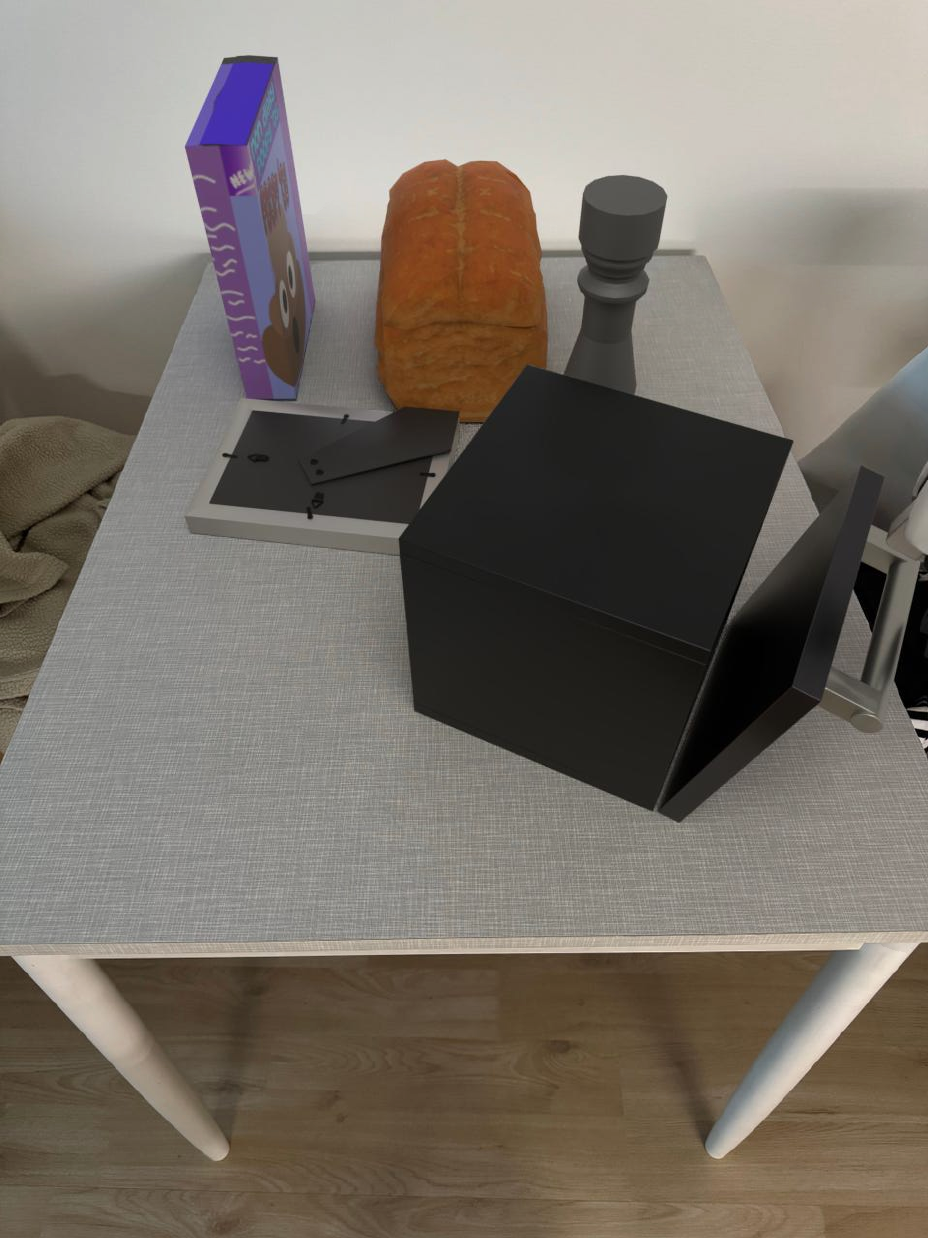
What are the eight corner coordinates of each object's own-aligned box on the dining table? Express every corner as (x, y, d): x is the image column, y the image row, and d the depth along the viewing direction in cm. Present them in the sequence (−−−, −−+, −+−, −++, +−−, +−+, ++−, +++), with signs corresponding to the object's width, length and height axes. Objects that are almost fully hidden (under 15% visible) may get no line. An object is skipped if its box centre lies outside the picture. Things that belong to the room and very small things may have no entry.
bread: (377, 426, 83) (360, 270, 70) (388, 274, 99) (376, 126, 87) (547, 424, 83) (561, 267, 70) (530, 272, 99) (538, 123, 87)
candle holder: (603, 444, 81) (646, 167, 61) (632, 487, 77) (687, 208, 58) (541, 458, 80) (564, 180, 60) (567, 503, 76) (601, 223, 57)
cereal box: (296, 400, 85) (246, 142, 66) (247, 400, 85) (183, 143, 66) (315, 300, 96) (277, 54, 77) (271, 300, 96) (223, 54, 77)
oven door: (801, 655, 67) (951, 509, 53) (738, 855, 57) (902, 744, 43) (731, 619, 68) (861, 464, 53) (657, 811, 58) (791, 686, 43)
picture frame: (459, 435, 82) (245, 415, 84) (459, 411, 80) (239, 391, 82) (431, 558, 72) (190, 532, 74) (429, 535, 70) (181, 508, 72)
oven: (727, 620, 68) (794, 439, 54) (652, 811, 58) (711, 651, 44) (515, 546, 73) (526, 363, 59) (413, 711, 63) (397, 538, 49)
